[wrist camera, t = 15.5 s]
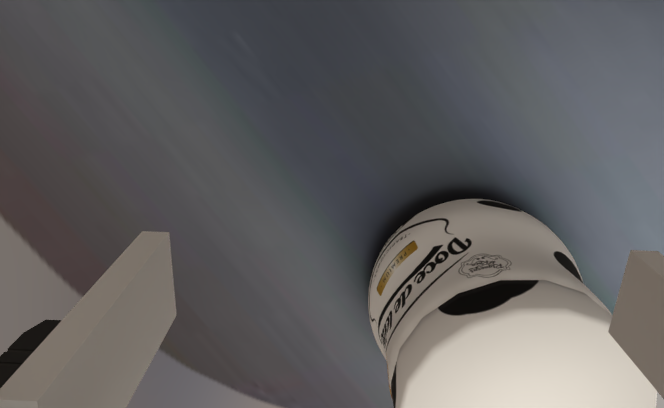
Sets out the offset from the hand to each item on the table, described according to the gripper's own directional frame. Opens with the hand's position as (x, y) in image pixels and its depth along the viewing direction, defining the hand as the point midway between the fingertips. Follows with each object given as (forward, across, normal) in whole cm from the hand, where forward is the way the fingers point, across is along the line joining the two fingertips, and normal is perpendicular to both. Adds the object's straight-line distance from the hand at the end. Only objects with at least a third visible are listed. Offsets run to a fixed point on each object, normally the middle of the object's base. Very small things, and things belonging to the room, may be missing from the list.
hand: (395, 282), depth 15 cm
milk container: (+29, +10, -15) cm, 34 cm away
